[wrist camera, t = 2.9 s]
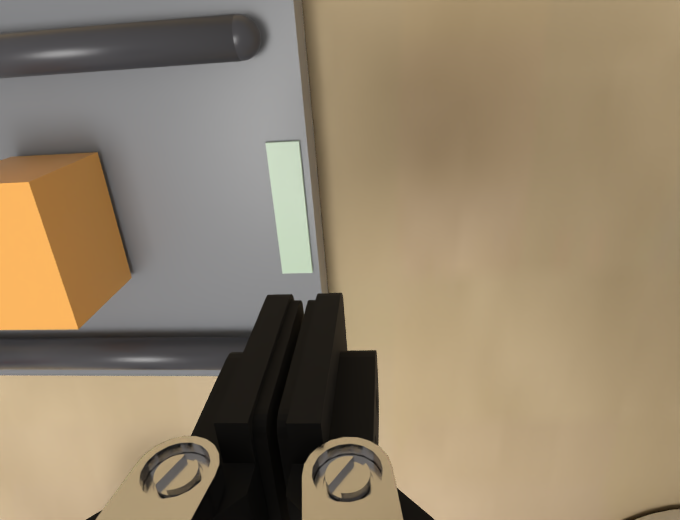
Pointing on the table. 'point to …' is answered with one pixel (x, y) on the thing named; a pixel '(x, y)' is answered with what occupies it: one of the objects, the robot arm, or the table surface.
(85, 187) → the handle
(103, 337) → the breaker block
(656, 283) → the table surface
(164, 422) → the table surface
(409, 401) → the table surface
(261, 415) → the robot arm
